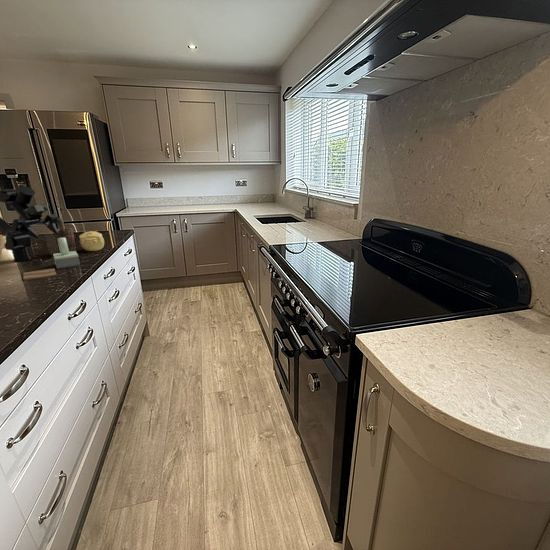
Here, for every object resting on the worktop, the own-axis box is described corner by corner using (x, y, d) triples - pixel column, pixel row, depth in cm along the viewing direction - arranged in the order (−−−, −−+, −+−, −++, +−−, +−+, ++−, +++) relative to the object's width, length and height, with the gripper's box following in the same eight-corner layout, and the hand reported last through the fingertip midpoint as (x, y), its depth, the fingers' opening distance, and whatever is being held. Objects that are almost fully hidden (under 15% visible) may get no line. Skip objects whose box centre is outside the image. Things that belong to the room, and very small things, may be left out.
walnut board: (23, 274, 130) (23, 272, 130) (54, 269, 136) (54, 267, 136) (23, 280, 122) (23, 279, 122) (56, 275, 128) (56, 273, 128)
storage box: (55, 264, 143) (53, 255, 141) (77, 261, 148) (75, 252, 147) (57, 269, 136) (54, 259, 135) (80, 265, 142) (78, 256, 140)
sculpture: (80, 253, 163) (76, 233, 159) (84, 248, 173) (80, 230, 170) (104, 251, 167) (101, 232, 164) (106, 246, 178) (102, 228, 174)
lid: (53, 257, 142) (48, 237, 139) (76, 254, 147) (71, 235, 144) (55, 261, 135) (50, 241, 132) (78, 258, 140) (74, 238, 137)
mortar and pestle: (82, 254, 161) (74, 216, 155) (64, 257, 155) (54, 218, 149) (74, 250, 168) (66, 214, 162) (56, 253, 162) (47, 216, 156)
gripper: (7, 200, 127) (32, 227, 128) (50, 197, 144) (73, 220, 144) (0, 218, 132) (25, 244, 133) (43, 213, 149) (64, 236, 149)
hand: (48, 235), depth 140 cm, fingers open, 9 cm apart
